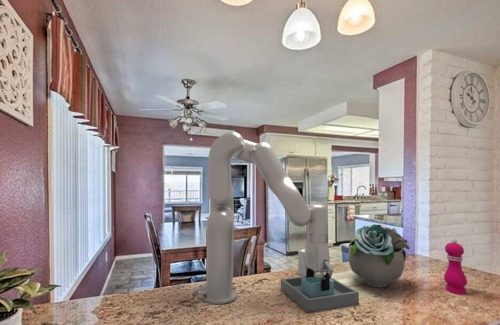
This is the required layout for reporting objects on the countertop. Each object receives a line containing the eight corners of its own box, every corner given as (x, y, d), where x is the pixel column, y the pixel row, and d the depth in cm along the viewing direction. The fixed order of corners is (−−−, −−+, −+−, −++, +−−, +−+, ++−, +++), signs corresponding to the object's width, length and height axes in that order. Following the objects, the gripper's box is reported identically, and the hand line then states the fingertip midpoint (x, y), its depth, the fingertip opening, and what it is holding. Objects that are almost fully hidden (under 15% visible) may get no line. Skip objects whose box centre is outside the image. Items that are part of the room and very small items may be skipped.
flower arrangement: (425, 291, 108) (423, 227, 110) (376, 300, 99) (375, 231, 101) (375, 271, 131) (374, 218, 133) (331, 277, 122) (331, 221, 124)
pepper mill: (445, 292, 107) (444, 239, 108) (443, 286, 113) (441, 236, 115) (469, 296, 104) (467, 241, 105) (465, 289, 110) (463, 238, 111)
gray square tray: (308, 313, 89) (308, 300, 90) (280, 289, 108) (280, 279, 108) (358, 304, 96) (358, 292, 96) (324, 283, 115) (324, 273, 115)
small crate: (310, 298, 98) (309, 284, 98) (301, 292, 103) (301, 278, 104) (333, 295, 101) (333, 280, 101) (324, 288, 107) (324, 275, 107)
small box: (309, 277, 122) (309, 252, 123) (297, 274, 126) (297, 250, 126) (316, 272, 129) (316, 249, 129) (305, 270, 132) (305, 247, 133)
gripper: (296, 234, 110) (296, 278, 109) (322, 243, 94) (322, 296, 93) (313, 233, 113) (313, 276, 112) (340, 242, 97) (341, 293, 96)
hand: (317, 285), depth 102 cm, fingers open, 9 cm apart
